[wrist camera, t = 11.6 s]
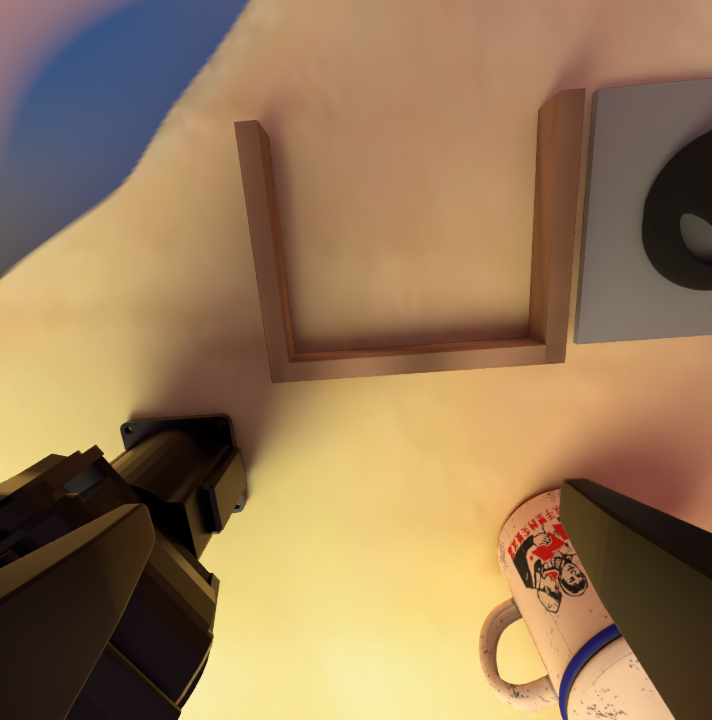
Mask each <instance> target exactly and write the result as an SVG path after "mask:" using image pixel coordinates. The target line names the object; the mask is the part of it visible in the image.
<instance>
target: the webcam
mask: <svg viewBox="0 0 712 720" xmlns="http://www.w3.org/2000/svg"><path fill="white" fill-rule="evenodd" d="M683 214H692V215H695V216H697V217H699V218H701V219H703V220H705V221H706V222H707V223H709V224H710V225H711V226H712V130H710V131H708V132H707V133H705V134H703V135H701V136H699V137H697V138H696V139H694V140H693V141H691V142H690V143H689V144H687V145H686V146H685V147H683V148H682V149H681V150H680V151H679V152H678V153H676V154H675V155H674V157H673V158H672V159H671V160H670V161H669V162H668V163H667V164H666V166H665V167H664V168H663V169H662V171H661V172H660V173H659V175H658V176H657V178H656V180H655V181H654V183H653V185H652V186H651V188H650V191H649V193H648V196H647V198H646V200H645V205H644V213H643V221H642V242H643V246H644V249H645V253H646V255H647V257H648V259H649V260H650V262H651V264H652V266H653V267H654V268H655V269H656V271H657V272H658V273H659V274H660V275H662V276H663V277H664V278H666V279H667V280H669V281H671V282H672V283H674V284H676V285H679V286H681V287H684V288H688V289H692V290H700V291H711V290H712V261H706V260H703V259H701V258H699V257H697V256H695V255H693V253H692V252H691V251H690V250H689V249H688V248H687V246H686V244H685V242H684V240H683V237H682V234H681V228H680V218H681V217H682V215H683Z"/></svg>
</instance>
